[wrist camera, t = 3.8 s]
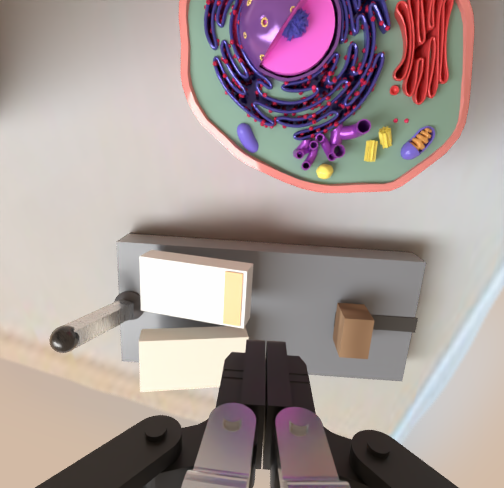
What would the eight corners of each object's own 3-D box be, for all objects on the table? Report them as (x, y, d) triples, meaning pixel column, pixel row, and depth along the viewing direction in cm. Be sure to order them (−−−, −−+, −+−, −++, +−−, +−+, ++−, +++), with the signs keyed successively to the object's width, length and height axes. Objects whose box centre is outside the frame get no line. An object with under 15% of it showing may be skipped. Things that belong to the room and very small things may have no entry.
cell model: (333, 227, 34) (367, 268, 23) (158, 85, 31) (100, 53, 20) (471, 72, 30) (591, 31, 19) (284, -108, 27) (299, -280, 16)
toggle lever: (120, 315, 33) (44, 353, 27) (119, 295, 33) (42, 329, 26) (136, 320, 32) (62, 361, 26) (135, 300, 32) (60, 336, 25)
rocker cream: (142, 377, 32) (140, 392, 30) (141, 329, 31) (138, 341, 29) (242, 371, 34) (245, 385, 32) (244, 325, 32) (248, 337, 31)
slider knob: (332, 338, 33) (339, 357, 30) (337, 302, 32) (344, 318, 29) (358, 340, 33) (367, 359, 30) (364, 304, 32) (374, 320, 29)
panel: (128, 344, 38) (116, 362, 34) (124, 233, 34) (111, 241, 31) (393, 363, 37) (404, 382, 34) (414, 252, 34) (429, 263, 31)
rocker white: (152, 300, 32) (140, 311, 30) (151, 249, 31) (138, 256, 29) (249, 317, 30) (243, 329, 28) (253, 263, 29) (246, 272, 27)
